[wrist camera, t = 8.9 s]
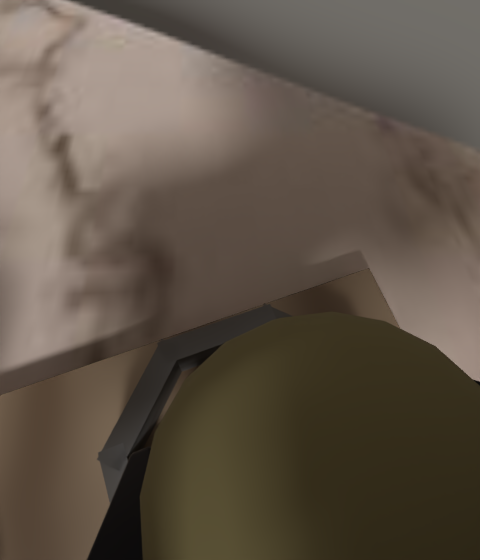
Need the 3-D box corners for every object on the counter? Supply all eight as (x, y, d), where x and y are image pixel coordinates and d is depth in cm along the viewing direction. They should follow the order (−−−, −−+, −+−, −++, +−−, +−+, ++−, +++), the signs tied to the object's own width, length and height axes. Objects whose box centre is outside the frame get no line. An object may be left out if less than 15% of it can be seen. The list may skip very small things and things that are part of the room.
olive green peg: (240, 614, 13) (337, 1271, 3) (141, 442, 14) (-37, 439, 4) (383, 487, 14) (793, 595, 4) (278, 346, 16) (389, 172, 6)
